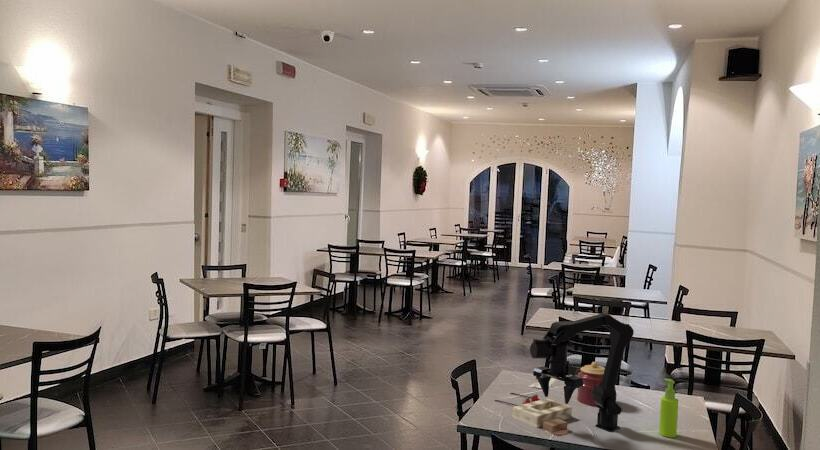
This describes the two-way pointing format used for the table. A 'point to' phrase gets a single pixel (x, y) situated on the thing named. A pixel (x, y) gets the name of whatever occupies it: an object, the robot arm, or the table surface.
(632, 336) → the robot arm
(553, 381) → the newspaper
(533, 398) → the glasses
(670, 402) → the soap dispenser
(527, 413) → the cream wooden tray
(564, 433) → the terracotta coaster
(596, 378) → the canister
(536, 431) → the table surface
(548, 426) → the walnut slab
